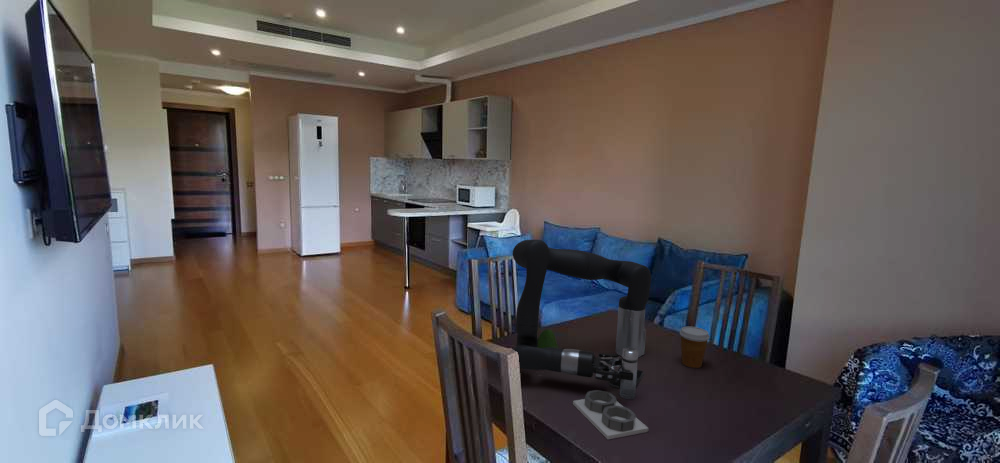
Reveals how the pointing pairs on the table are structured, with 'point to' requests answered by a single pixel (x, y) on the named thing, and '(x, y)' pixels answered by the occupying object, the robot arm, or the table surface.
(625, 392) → the tube
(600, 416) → the hex nut holder
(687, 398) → the table surface
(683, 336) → the disposable coffee cup
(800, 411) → the table surface
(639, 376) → the phone
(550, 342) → the avocado
